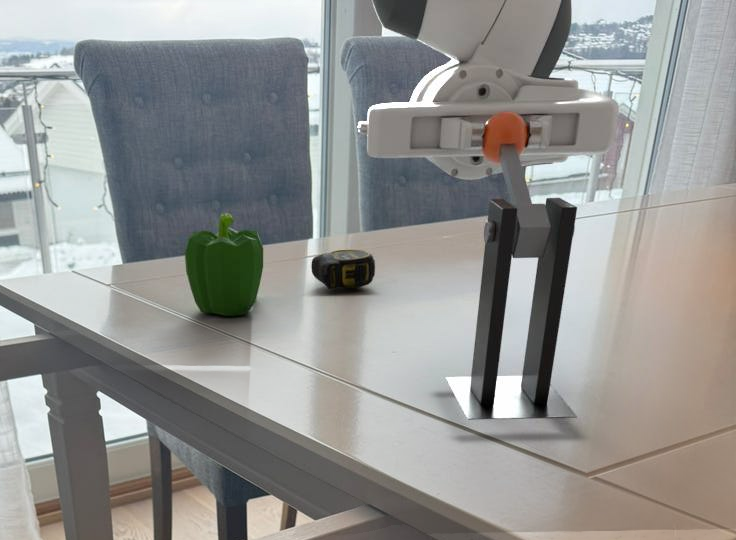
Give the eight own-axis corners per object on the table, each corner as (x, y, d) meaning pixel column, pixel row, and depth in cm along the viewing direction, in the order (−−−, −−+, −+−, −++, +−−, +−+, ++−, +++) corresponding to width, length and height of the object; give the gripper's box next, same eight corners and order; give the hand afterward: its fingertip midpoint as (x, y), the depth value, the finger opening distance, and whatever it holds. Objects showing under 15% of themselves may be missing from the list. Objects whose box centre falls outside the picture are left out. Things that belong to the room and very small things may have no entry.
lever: (473, 148, 74) (481, 102, 71) (518, 147, 74) (528, 101, 71) (500, 266, 66) (511, 219, 63) (551, 265, 66) (564, 218, 63)
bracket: (443, 391, 77) (461, 194, 69) (541, 389, 76) (570, 191, 68) (465, 434, 68) (489, 215, 60) (575, 433, 68) (613, 212, 60)
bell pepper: (194, 302, 104) (189, 205, 99) (267, 303, 103) (266, 204, 98) (181, 321, 97) (174, 218, 92) (259, 322, 96) (257, 217, 91)
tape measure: (309, 283, 111) (309, 250, 109) (365, 280, 112) (366, 246, 110) (323, 296, 106) (323, 261, 104) (381, 292, 107) (382, 257, 104)
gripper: (356, 84, 81) (372, 91, 69) (592, 78, 81) (648, 84, 69) (354, 165, 84) (368, 185, 73) (580, 159, 84) (631, 178, 72)
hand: (507, 136), depth 71 cm, fingers closed on lever, 3 cm apart
